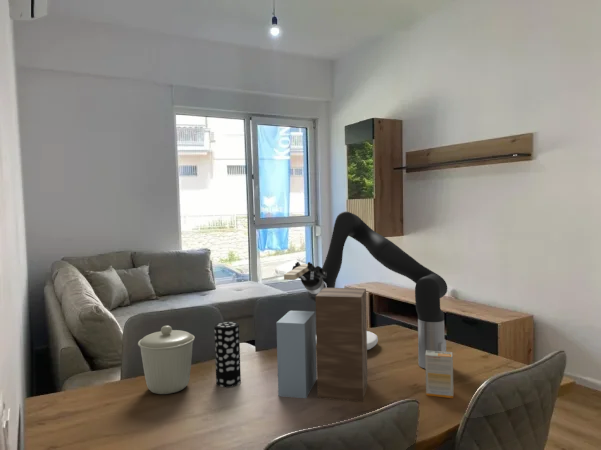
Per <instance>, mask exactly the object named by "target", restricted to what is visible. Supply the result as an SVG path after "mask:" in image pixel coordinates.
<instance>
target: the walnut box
mask: <svg viewBox="0 0 601 450" xmlns="http://www.w3.org/2000/svg"><path fill="white" fill-rule="evenodd" d="M315 321H316V340H317V344H316V366H317V379H316V381H317V383H316V384H317V399H326V400H334V401H335V400H337V401H349V402H362V403H363V402H364V398H365V394H366V392H367V387H368V350H367V331H368V330H367V327H368V326H367V289H366V288H358V287H353V288H352V287H351V288H350V287H335V288H327V287H326V288H323V289H322V290H321V291H320V292H319V293H318V294H317V295H316V302H315Z"/></svg>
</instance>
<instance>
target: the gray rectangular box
mask: <svg viewBox="0 0 601 450" xmlns="http://www.w3.org/2000/svg"><path fill="white" fill-rule="evenodd" d="M275 323H276V351H277V353H276V354H277V356H276V357H277V361H276V362H277V393H278V397H285V398H296V399H297V398H298V399H307V398H308V395H309V394H310V392H311V391H312V389H313V387H314V385H315V383H316V381H317V344H316V310H315V311H314V310H313V311H312V310H289V311H287V313H285V314H284V315H283V316H282V317H281V318H280V319H279V320H278V321H276V322H275Z"/></svg>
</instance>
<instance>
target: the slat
mask: <svg viewBox="0 0 601 450" xmlns="http://www.w3.org/2000/svg"><path fill="white" fill-rule="evenodd" d="M307 266H308V263H300V266H298V267H296V268H294V269H293V270H292V269H291V270H289V271H288V272H286V273H284V274H283V280H287V281H288V280H290V281H291V280H293V281H296V280H297V279H298V277H300V276H301V275H303V274H304V273H306V272H307V271H309V269H308V267H307Z"/></svg>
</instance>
